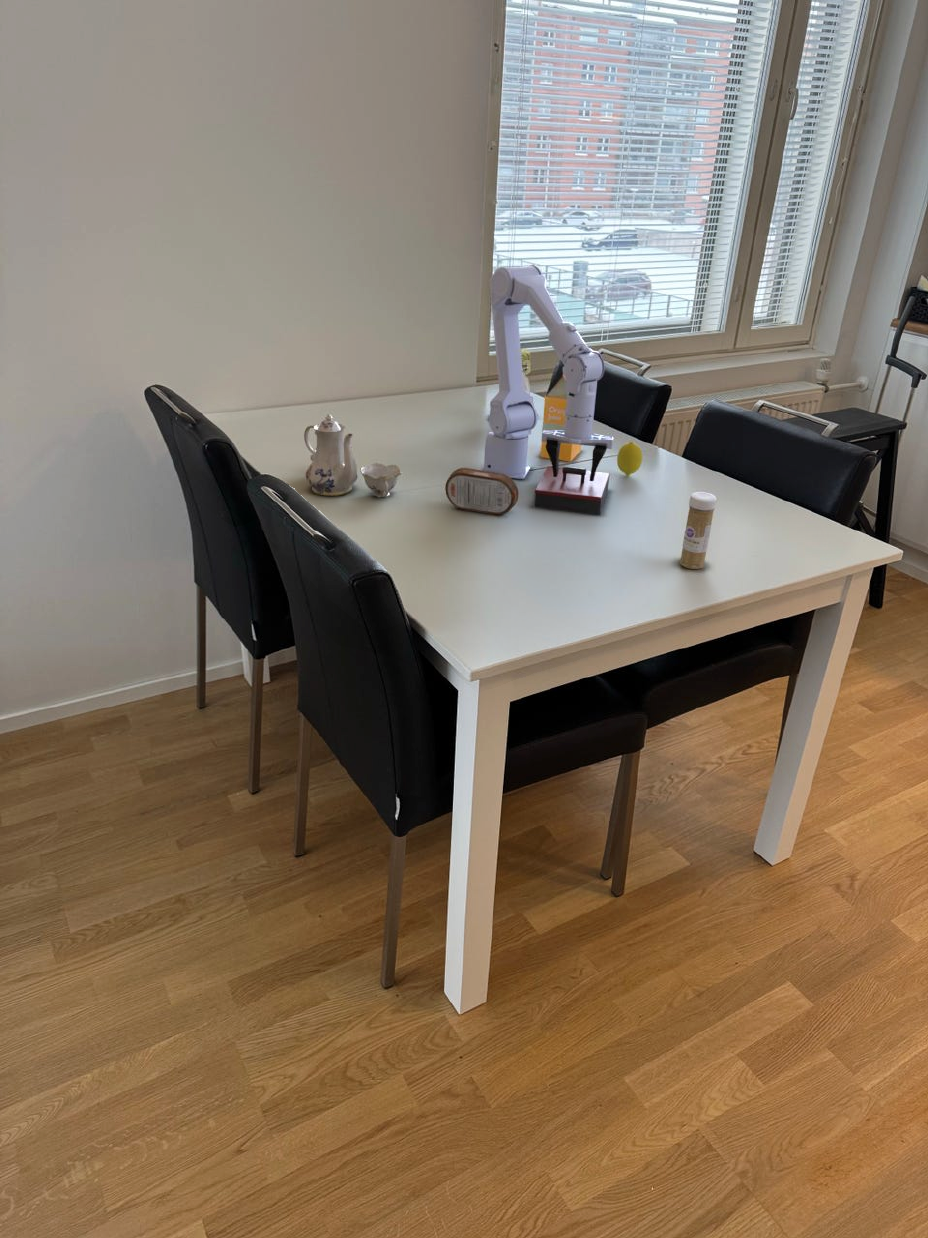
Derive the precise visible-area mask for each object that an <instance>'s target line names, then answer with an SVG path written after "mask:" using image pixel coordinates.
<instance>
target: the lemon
mask: <svg viewBox="0 0 928 1238" xmlns="http://www.w3.org/2000/svg"><path fill="white" fill-rule="evenodd" d="M642 462H643V452H642V449H641V447H640V446H639V445H638V444H636V443H635V442H634V441H629V442H627V443H624V444H623V445H622V446H621V447H620V448H619V450H618V453H617V457H616V464H617V467H618V470H620V472H622V473H624V475H625V476H627V477H629V476H631V474H634V473H636V472H638V470H639V469H640V468H641V465H642Z"/></svg>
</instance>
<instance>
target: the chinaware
mask: <svg viewBox="0 0 928 1238" xmlns="http://www.w3.org/2000/svg"><path fill="white" fill-rule="evenodd" d="M310 429H314V435H315V437H316V447H315V449H313V447H312V445H311V443H310V440H309V433H310ZM345 429H346V426H345V425H343V424H342V423H338V422H337V421H336V419H334V418H333V416H332V415H331V414H330V413H328V414H327V415H326V416H325V418H324V419H323V420H322V421H321V423H318V424H312V425H308V426H307V427H306V428H305V430H304V433H303V438H304V443H305V446H306V448H307V450H308V451H309V452H310V453H311V454H310V456H309V457H310V460H311V463H310V464H309V467H308V468H307V470H306V472H305V479H306V481H307V482H308V483H309V485H311V487H312V488H311V491H312V492H313V493H314V494H316V495H319V496H324V497H337V496H344V495H347V494H348V493H350V492H352V490H353V488H352V486H353V485H354V484H355V483H356V482H357V480H358V468H357V463H356V459H355V456H354V452H353V450H354V447H353V446H352V443H351V439H352V437H353V435H354V434H353V433H347V434H346V435H345V436H344V432H345ZM360 473H361V475H362V477H363V479H364V483H365V485H366V486H367V488H368V489H369V490H370V491H372V492H373V493H372V496H374V497H377V498H385V497H388V496H390V494H391V492H390V491H392V490H394V488H395V486H396V485H397V483H398V480H399V476H401V475H402V473H403V472H402V470H400V467H399V466H397V465H395V464H389V465H387V466H386V465H385V464H383V463H377V462H376V463H372V464H370V465H369V466H367V467H366V466H362V467H360Z"/></svg>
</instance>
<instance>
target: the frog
mask: <svg viewBox="0 0 928 1238" xmlns="http://www.w3.org/2000/svg"><path fill="white" fill-rule="evenodd" d="M521 360H522V372H523V384H524V390H526V391H527V392H528V393H529V394H530V395H531V387H530V381H529V379H528V377H527V376H526V375H528V374H530V373H531V372H532V363H531V352H530V351H529V350H528V349H526V348H521ZM514 404H518V403H513V404H509V405H514ZM537 417H539V414H538V413H537Z"/></svg>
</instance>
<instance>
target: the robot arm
mask: <svg viewBox="0 0 928 1238" xmlns="http://www.w3.org/2000/svg"><path fill="white" fill-rule="evenodd" d="M489 290H490V291H489V293H490V303H491V313H492V324H493V325H492V326H493V336H494V347H495V357H496V369H497V380H498V392H497V393H496V395H494V397H493V398H492V399H491V400H490V402H489V406H490V410H489V415H488V423H489V427H490V430H491V431H488V432H487V434H486V437H485V442H484V456H483V471H489V472H495V473H501V474H504V475H507V476H508V477H510V478H511V479H516V480H517V479H518V480H524V479H525V478H526V476H527V475H528V473H529V472H530V470H531V466H528V465H527V462H528V461H527V460H528V448H529V447H528V446H529V436H530V435H531V434H532V430H534V428H535V427H536V425H537V422H538V416H537V414H538V412H537V409H536V406H535V403H534V397H533V395H531V393H530V394H529V393H528V392H527V391H526V390H524V384H523V372H522V360H521V349H522V348H521V335H520V325H519V314H520V313H521V311H522V310H523V308H524V307H525V306H526V305H528V306H529V307H530V308H531V310H532V311H533V312H534V313H535V315H536V316H537V317H538V319H539V320H540V321H541V323H542V324H543V325H544V327H545V329H547V330H548V332H549V333H548V337H547V339H548V342H549V345H550V346H551V347H552V348H553V351H554V352H555V354H556V355H557V357H558V358H559V359H560V361H561V363H562V365H563V366H562V376H563V375H564V378H565V381H566V387H565V388H566V391H567V403H566V414H565V426H564V431H550V430H543V432H542V431H541V443H542V442H547V443H546V450H547V452H548V454H549V457H550V459H549V460H550V463H551V467H552V468H553V477H557V475H558V470H559V468H560V467H559V466H560V464H559V463H560V460H559V452H560V444H561V443H569V444H579V445H581V446H589V447H593V450H592V461H591V470H590V471H591V474H590V481H593V480H594V477H595V472H597V469H598V467H599V465H600V463H601V461H602V460H603V457H604V456H605V454H606V452H607V450H613V446H614V436H607V435H602V434H597V433H593V426H594V418H595V417H594V416H595V406H596V396H597V388H598V381H600V380H601V379H602V378H603V376H604V374H605V370H606V365H605V364H606V363H605V361H604V358H603V357H602V354H601V353H600V352H599V351H597V350H593V349H592V348H591V347H589V346H588V345H587V344H586V342H585V341H584V339H583V338H582V336H581V335H580V333H579V332H578V328H577V327H576V325H575V324H573V323H572V322H569V321H564V319H563V317H562V315H561V314H560V312H559V310H558V308H557V306H556V304H555V303H554V301H553V299H552V297H551V296H550V293H549V291H548V289H547V277H546V276H545V275H544V274H543V271H542V269H541V268H540V267H539V266H538V265H536V264H530V265H525V266H523V265H522V266H513V267H511V266H509V267H504V266H501V267H497V268H496V269H495V271H494V272H493V274H492V275H491V277H490V279H489ZM513 403H518V404H514V405H509V404H513Z"/></svg>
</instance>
